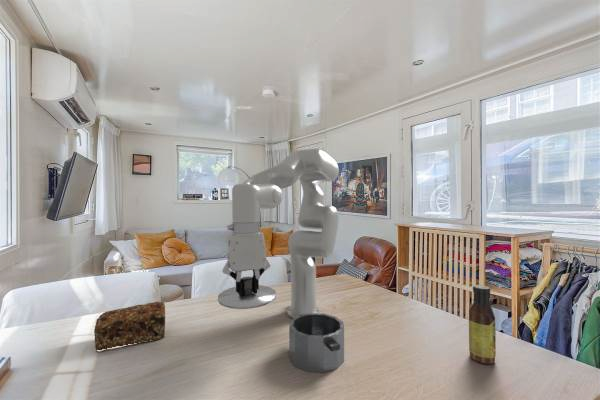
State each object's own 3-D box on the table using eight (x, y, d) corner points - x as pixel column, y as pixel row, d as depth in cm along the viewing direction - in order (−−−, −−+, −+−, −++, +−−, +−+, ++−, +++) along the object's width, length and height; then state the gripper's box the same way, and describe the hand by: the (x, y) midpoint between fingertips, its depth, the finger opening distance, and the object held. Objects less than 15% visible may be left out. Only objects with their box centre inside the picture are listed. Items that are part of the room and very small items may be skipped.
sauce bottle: (500, 366, 76) (500, 291, 75) (473, 364, 77) (474, 290, 77) (489, 353, 82) (489, 284, 82) (465, 351, 83) (465, 282, 83)
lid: (212, 293, 84) (211, 275, 84) (263, 284, 92) (263, 267, 91) (226, 313, 70) (226, 292, 70) (285, 300, 78) (285, 281, 77)
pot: (279, 344, 87) (279, 315, 87) (322, 334, 93) (322, 307, 93) (308, 385, 68) (308, 347, 68) (360, 369, 74) (360, 334, 74)
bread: (165, 326, 99) (165, 297, 99) (165, 340, 90) (165, 308, 89) (100, 338, 91) (100, 306, 91) (93, 354, 82) (92, 320, 81)
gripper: (218, 231, 73) (219, 303, 74) (278, 227, 80) (279, 293, 81) (213, 228, 80) (215, 293, 81) (270, 225, 87) (271, 285, 87)
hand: (247, 292), depth 81 cm, fingers closed on lid, 3 cm apart
